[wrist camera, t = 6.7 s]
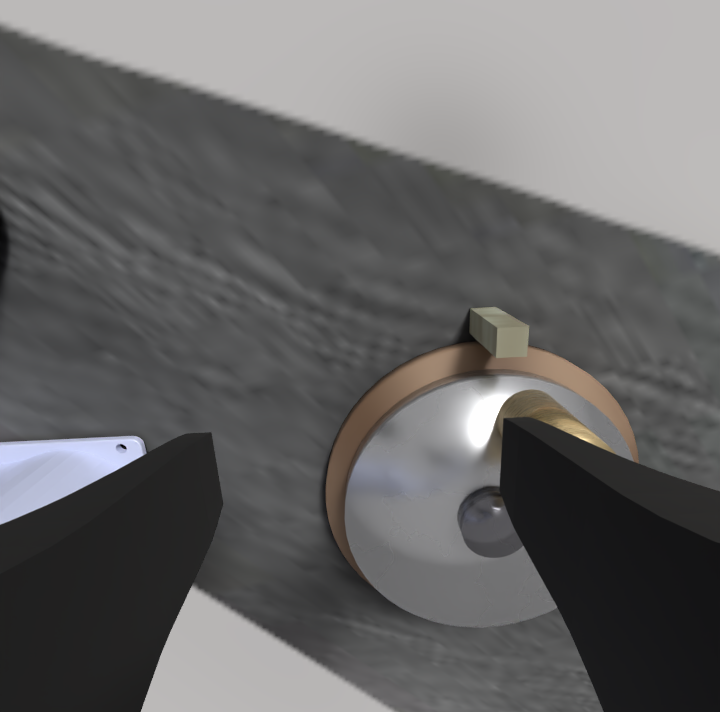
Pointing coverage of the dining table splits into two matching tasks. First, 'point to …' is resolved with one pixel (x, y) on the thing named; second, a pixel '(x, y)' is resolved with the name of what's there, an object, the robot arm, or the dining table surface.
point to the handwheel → (456, 496)
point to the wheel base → (491, 351)
